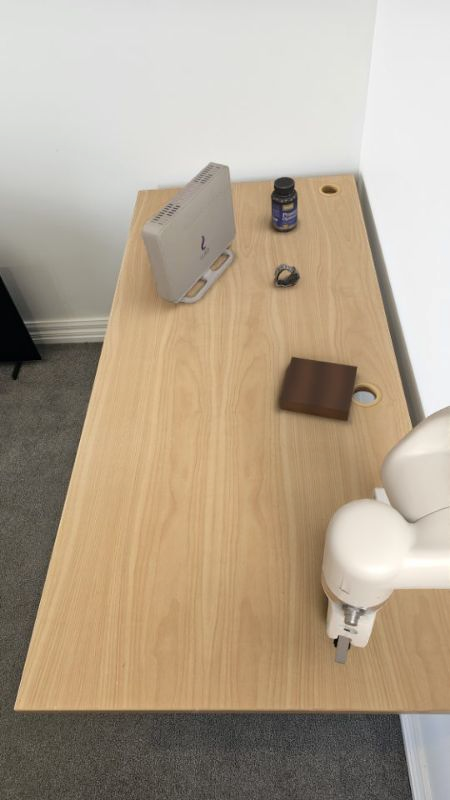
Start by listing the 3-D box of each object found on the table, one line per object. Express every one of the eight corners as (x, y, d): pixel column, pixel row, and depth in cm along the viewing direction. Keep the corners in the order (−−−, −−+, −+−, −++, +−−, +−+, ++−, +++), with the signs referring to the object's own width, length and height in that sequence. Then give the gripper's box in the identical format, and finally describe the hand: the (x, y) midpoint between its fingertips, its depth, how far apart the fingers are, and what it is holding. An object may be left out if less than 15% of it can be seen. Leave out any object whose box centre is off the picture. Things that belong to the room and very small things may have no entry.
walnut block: (355, 376, 92) (357, 366, 90) (347, 421, 87) (349, 411, 84) (291, 366, 95) (291, 356, 93) (279, 409, 90) (279, 399, 87)
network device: (184, 316, 106) (166, 236, 90) (152, 303, 109) (128, 225, 93) (245, 246, 118) (238, 164, 102) (214, 236, 121) (202, 156, 105)
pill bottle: (284, 236, 118) (284, 193, 109) (266, 226, 121) (264, 183, 112) (302, 223, 120) (303, 181, 111) (284, 214, 123) (283, 171, 114)
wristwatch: (287, 292, 109) (303, 276, 106) (269, 281, 107) (284, 264, 104) (285, 284, 111) (300, 268, 108) (267, 273, 109) (282, 256, 106)
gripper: (385, 672, 48) (364, 692, 62) (401, 510, 57) (380, 561, 71) (306, 649, 49) (304, 674, 64) (335, 495, 58) (327, 548, 73)
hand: (344, 614), depth 68 cm, fingers closed on green cube, 4 cm apart
